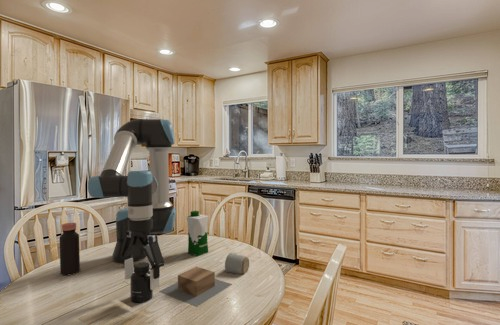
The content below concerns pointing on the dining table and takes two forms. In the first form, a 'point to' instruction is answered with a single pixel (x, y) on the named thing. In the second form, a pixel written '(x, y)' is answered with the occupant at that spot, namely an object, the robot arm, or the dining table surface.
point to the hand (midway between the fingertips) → (141, 283)
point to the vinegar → (69, 249)
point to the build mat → (193, 299)
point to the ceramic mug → (236, 264)
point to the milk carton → (197, 233)
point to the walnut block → (196, 281)
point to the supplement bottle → (140, 283)
